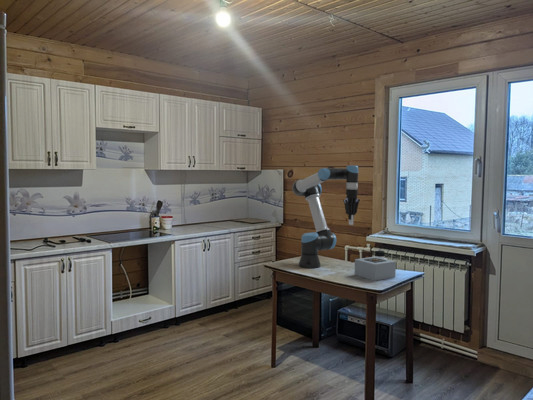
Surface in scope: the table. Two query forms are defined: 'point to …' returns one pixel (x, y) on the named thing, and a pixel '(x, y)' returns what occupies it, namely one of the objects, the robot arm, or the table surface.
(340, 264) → the table surface
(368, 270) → the socket block
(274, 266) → the table surface
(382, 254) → the container
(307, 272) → the table surface
